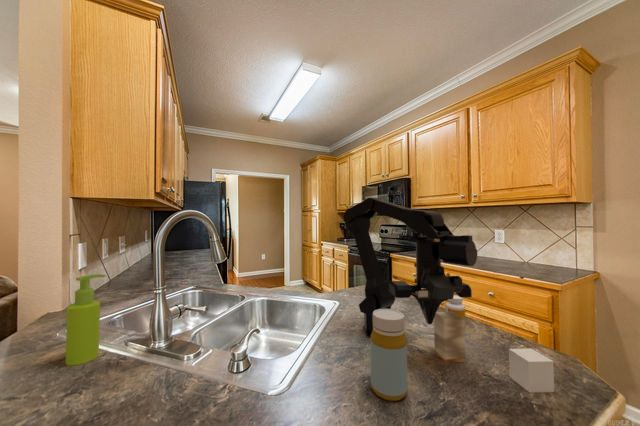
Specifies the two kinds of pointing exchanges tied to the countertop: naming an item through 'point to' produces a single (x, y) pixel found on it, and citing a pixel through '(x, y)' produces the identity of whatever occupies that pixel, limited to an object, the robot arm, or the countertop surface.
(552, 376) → the grey block
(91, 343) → the soap dispenser
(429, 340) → the countertop surface
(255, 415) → the countertop surface
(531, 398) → the countertop surface
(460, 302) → the supplement bottle
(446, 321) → the birch block
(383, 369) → the bottle
